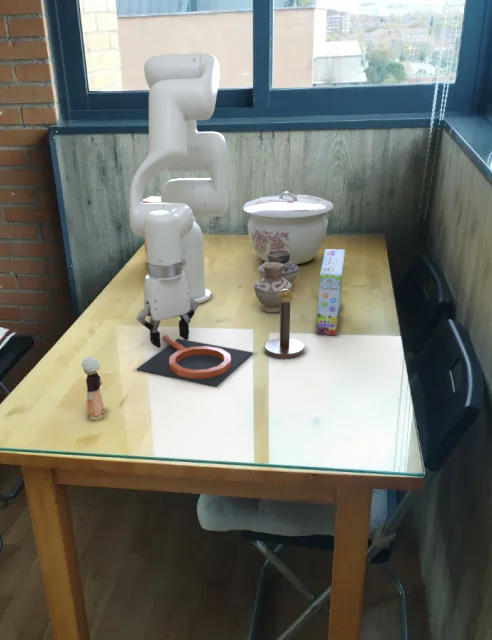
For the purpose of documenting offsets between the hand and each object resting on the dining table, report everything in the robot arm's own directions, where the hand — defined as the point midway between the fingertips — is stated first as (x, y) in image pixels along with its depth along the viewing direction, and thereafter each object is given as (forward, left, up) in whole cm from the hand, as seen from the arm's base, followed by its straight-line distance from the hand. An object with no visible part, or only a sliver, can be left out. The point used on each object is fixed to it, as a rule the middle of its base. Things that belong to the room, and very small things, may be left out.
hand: (170, 341), depth 164 cm
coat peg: (+26, +8, -1) cm, 27 cm away
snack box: (+29, +30, -1) cm, 42 cm away
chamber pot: (0, +72, -1) cm, 72 cm away
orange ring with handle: (+7, -4, -1) cm, 9 cm away
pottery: (+11, +38, -1) cm, 40 cm away
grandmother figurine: (+4, -35, -1) cm, 35 cm away
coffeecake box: (-33, +56, -1) cm, 65 cm away
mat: (+10, -5, -1) cm, 11 cm away
